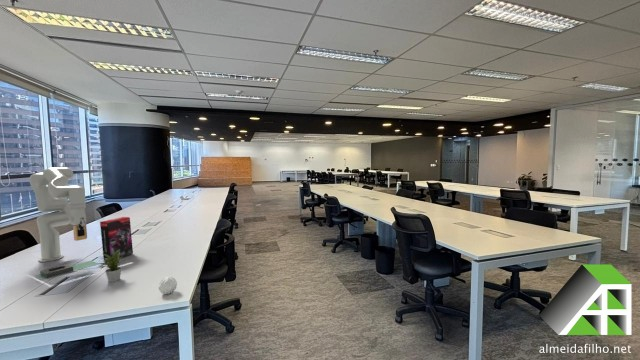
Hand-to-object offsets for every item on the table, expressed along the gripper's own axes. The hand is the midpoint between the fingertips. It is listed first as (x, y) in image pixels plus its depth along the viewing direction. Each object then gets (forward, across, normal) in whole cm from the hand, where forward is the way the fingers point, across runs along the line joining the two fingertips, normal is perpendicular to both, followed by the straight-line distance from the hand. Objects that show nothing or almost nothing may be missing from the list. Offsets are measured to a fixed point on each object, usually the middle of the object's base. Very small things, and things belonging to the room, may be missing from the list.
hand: (79, 235), depth 168 cm
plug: (+3, 0, 0) cm, 3 cm away
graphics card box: (+21, 0, +20) cm, 29 cm away
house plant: (+21, +39, 0) cm, 44 cm away
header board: (+21, -1, -6) cm, 22 cm away
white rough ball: (+21, +83, +4) cm, 86 cm away
